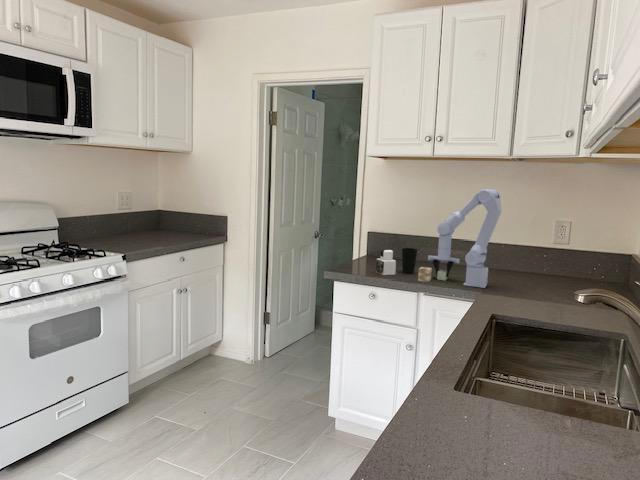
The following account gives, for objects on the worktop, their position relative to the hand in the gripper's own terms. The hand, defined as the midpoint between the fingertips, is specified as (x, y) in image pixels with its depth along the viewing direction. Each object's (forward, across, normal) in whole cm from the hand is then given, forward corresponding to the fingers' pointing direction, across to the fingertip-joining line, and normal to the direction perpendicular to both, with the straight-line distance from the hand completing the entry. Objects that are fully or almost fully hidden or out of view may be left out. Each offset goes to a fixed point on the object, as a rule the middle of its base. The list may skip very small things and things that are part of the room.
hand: (442, 276), depth 228 cm
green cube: (+2, 0, 0) cm, 2 cm away
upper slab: (-1, +7, +8) cm, 10 cm away
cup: (+2, +18, -5) cm, 19 cm away
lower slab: (+2, +7, +8) cm, 10 cm away
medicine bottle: (+2, +27, +4) cm, 27 cm away
